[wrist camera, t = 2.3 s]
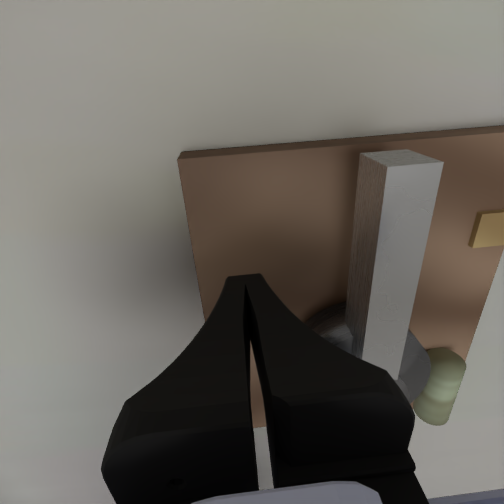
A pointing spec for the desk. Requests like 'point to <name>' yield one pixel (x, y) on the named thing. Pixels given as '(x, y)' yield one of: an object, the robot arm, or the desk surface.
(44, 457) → the desk surface
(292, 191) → the base
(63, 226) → the desk surface
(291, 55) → the desk surface
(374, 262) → the grey lever handle
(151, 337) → the desk surface
